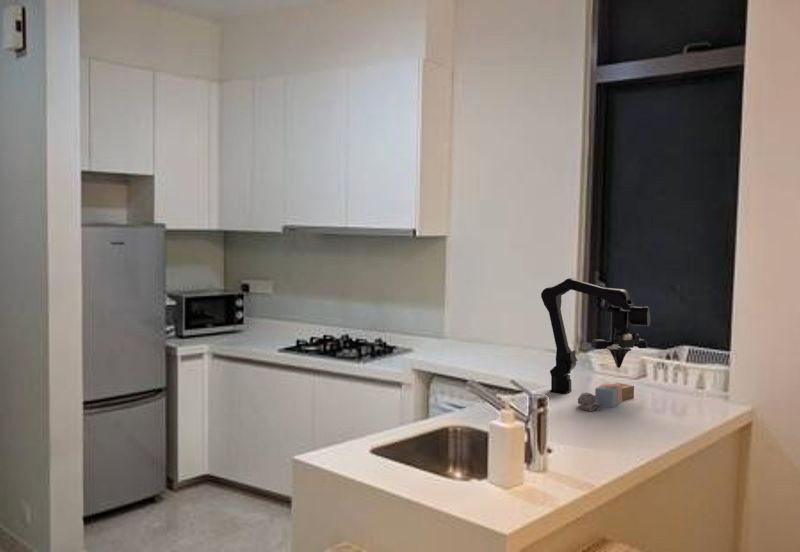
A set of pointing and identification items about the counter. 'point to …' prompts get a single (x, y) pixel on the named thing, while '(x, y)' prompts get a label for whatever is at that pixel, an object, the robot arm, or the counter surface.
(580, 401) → the mineral specimen
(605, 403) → the light blue block
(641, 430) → the counter surface
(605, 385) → the terracotta clay cube
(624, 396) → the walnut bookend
